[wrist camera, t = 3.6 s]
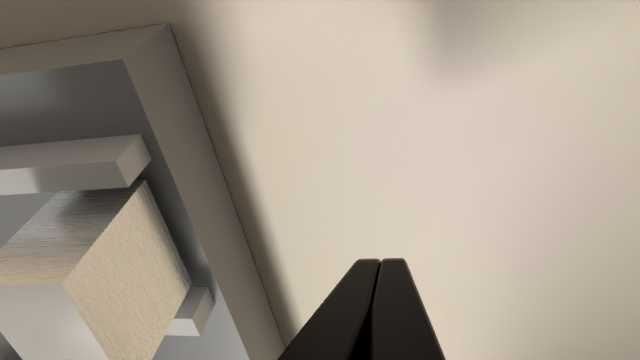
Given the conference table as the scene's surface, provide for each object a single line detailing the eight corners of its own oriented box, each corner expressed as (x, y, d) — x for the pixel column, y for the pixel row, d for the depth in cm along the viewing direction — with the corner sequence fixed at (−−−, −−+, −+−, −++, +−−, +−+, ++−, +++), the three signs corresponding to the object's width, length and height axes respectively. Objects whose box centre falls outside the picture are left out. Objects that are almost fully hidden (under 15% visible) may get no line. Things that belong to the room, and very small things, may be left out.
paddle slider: (145, 179, 11) (60, 284, 8) (192, 282, 12) (133, 396, 10) (65, 184, 11) (-37, 284, 9) (120, 282, 13) (47, 390, 11)
